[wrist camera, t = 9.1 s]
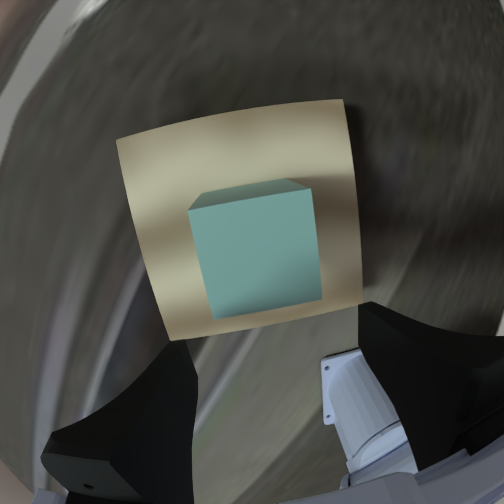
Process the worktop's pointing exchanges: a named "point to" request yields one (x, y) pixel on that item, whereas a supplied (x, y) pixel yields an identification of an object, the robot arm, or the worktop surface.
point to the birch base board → (236, 174)
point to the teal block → (257, 247)
